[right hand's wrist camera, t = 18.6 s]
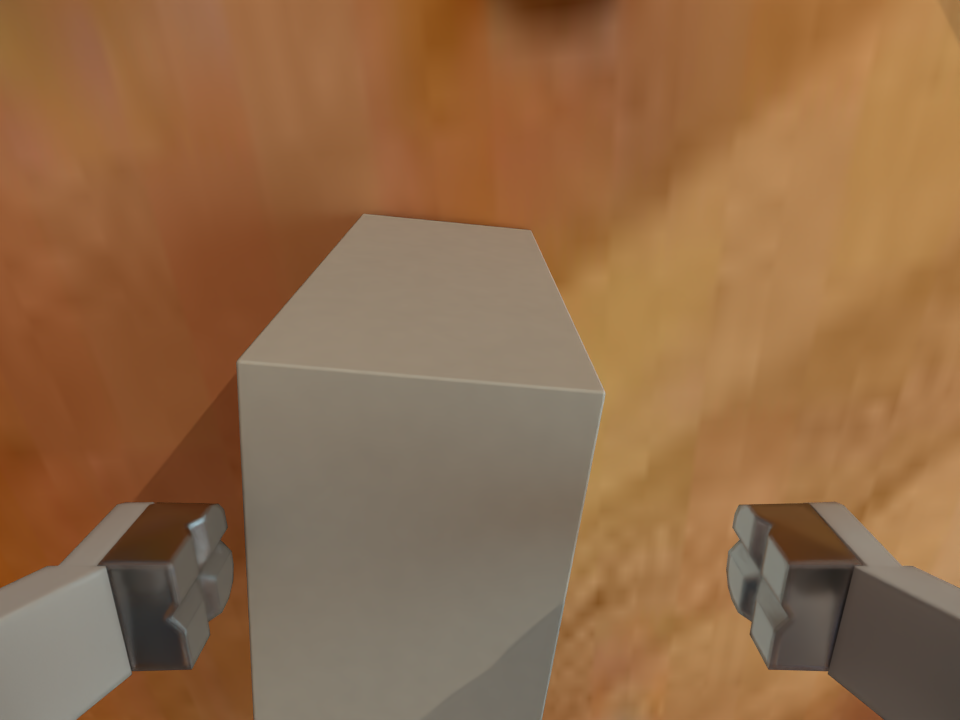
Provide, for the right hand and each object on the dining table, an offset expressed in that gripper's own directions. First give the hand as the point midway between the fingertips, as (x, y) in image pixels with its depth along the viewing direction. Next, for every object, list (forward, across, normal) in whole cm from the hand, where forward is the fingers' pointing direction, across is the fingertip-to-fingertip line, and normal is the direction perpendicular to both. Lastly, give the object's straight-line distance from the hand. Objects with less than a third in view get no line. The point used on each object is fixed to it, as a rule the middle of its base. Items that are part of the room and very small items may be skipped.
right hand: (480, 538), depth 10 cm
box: (+14, -2, -8) cm, 16 cm away
